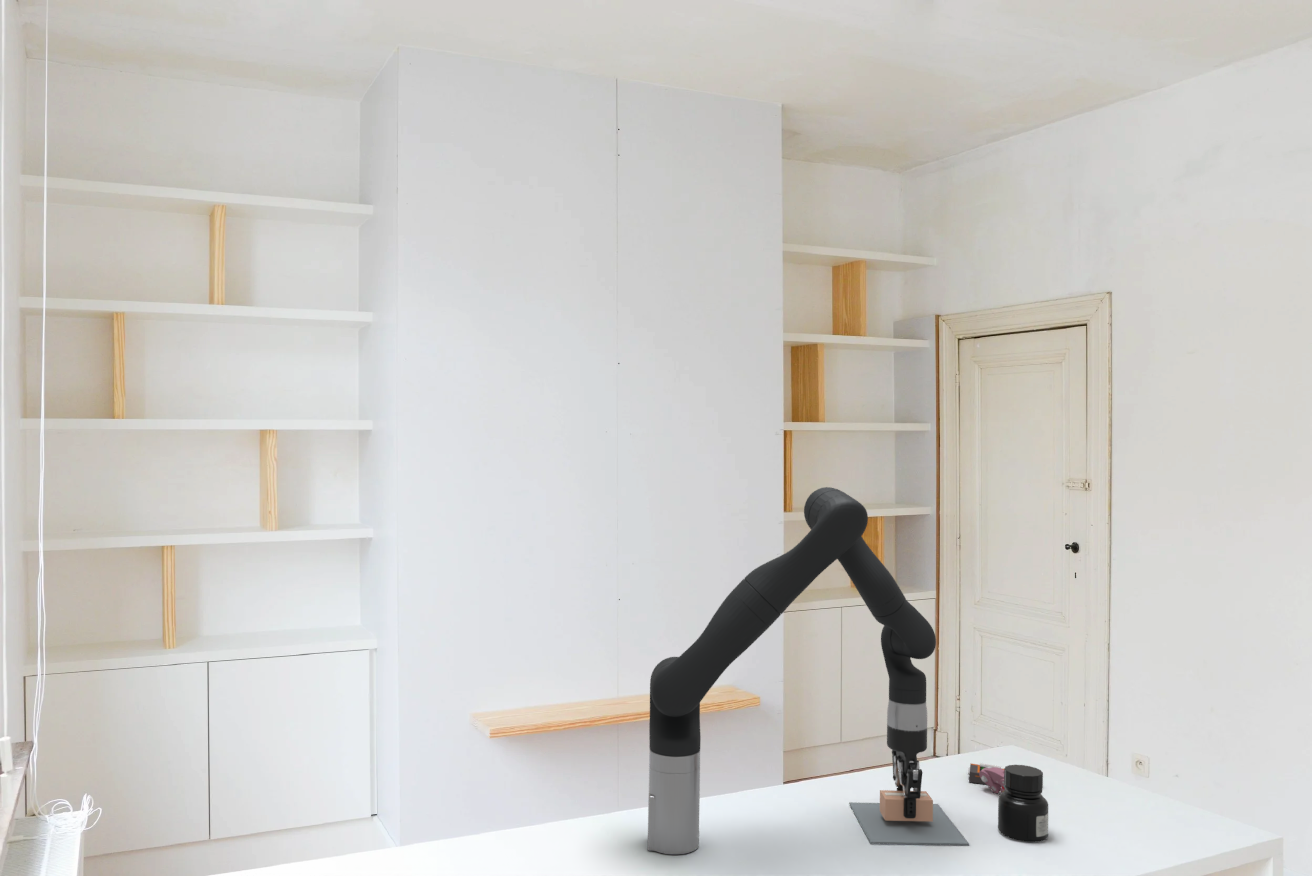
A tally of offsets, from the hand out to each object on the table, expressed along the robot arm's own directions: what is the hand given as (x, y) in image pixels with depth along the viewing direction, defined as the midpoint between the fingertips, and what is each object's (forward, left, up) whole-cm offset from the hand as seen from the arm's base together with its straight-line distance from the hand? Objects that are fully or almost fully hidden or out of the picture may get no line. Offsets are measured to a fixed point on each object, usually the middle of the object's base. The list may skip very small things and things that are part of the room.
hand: (905, 811), depth 187 cm
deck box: (0, 0, -1) cm, 1 cm away
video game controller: (+25, +17, -3) cm, 30 cm away
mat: (0, 0, -2) cm, 2 cm away
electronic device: (+28, +25, -3) cm, 37 cm away
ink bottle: (+21, -4, -3) cm, 22 cm away
